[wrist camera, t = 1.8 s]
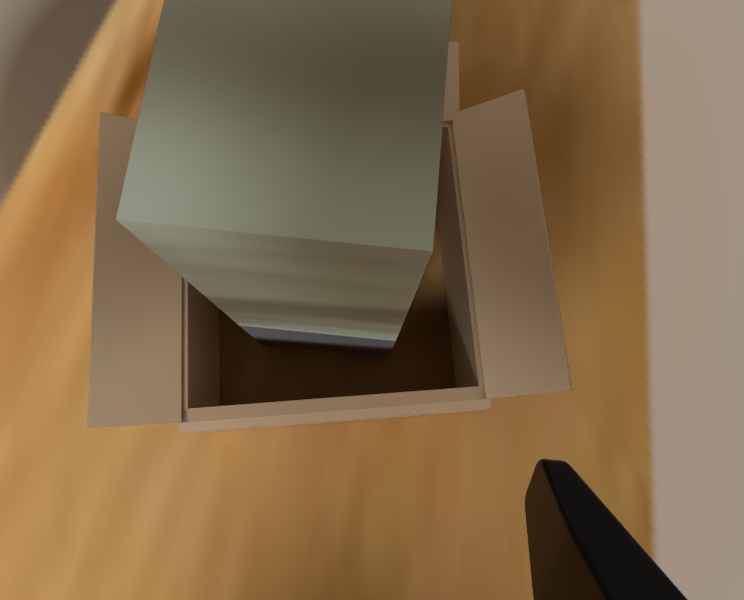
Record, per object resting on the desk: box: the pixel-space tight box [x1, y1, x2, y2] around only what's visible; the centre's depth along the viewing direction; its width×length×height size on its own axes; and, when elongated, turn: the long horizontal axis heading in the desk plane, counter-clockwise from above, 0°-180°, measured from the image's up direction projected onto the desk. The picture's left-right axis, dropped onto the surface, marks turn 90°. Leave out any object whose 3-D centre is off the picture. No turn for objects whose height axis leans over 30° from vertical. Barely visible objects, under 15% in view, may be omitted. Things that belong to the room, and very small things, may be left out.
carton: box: [87, 41, 572, 433], centre depth 19 cm, size 12×14×5 cm
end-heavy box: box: [116, 0, 452, 357], centre depth 15 cm, size 5×5×13 cm
